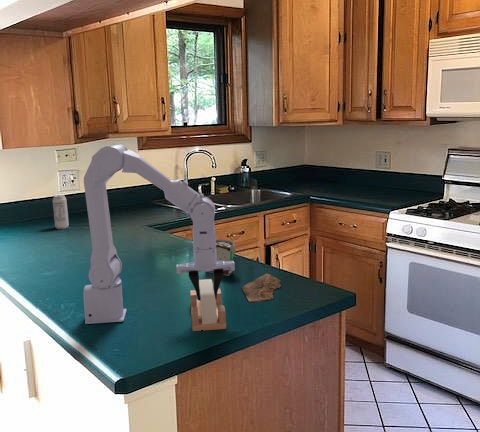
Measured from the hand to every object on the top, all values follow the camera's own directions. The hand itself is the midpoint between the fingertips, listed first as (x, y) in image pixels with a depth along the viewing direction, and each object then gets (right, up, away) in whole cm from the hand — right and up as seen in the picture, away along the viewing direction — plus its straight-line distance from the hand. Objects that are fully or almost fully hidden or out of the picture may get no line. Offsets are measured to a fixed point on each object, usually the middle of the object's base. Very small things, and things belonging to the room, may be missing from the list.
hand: (206, 298), depth 135 cm
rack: (0, -4, +1) cm, 5 cm away
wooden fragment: (+15, 0, +21) cm, 26 cm away
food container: (+3, +3, +38) cm, 38 cm away
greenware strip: (0, -3, +1) cm, 3 cm away
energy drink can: (-74, +15, +110) cm, 134 cm away
